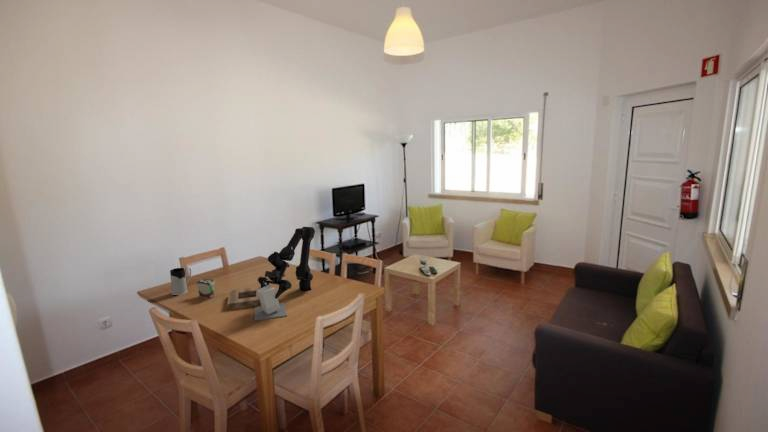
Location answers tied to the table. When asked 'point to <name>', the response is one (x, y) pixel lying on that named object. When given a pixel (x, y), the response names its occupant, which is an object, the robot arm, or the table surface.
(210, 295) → the alarm clock
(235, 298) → the pocket block
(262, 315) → the mat
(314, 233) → the robot arm
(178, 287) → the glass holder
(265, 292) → the supplement box
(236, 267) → the table surface
